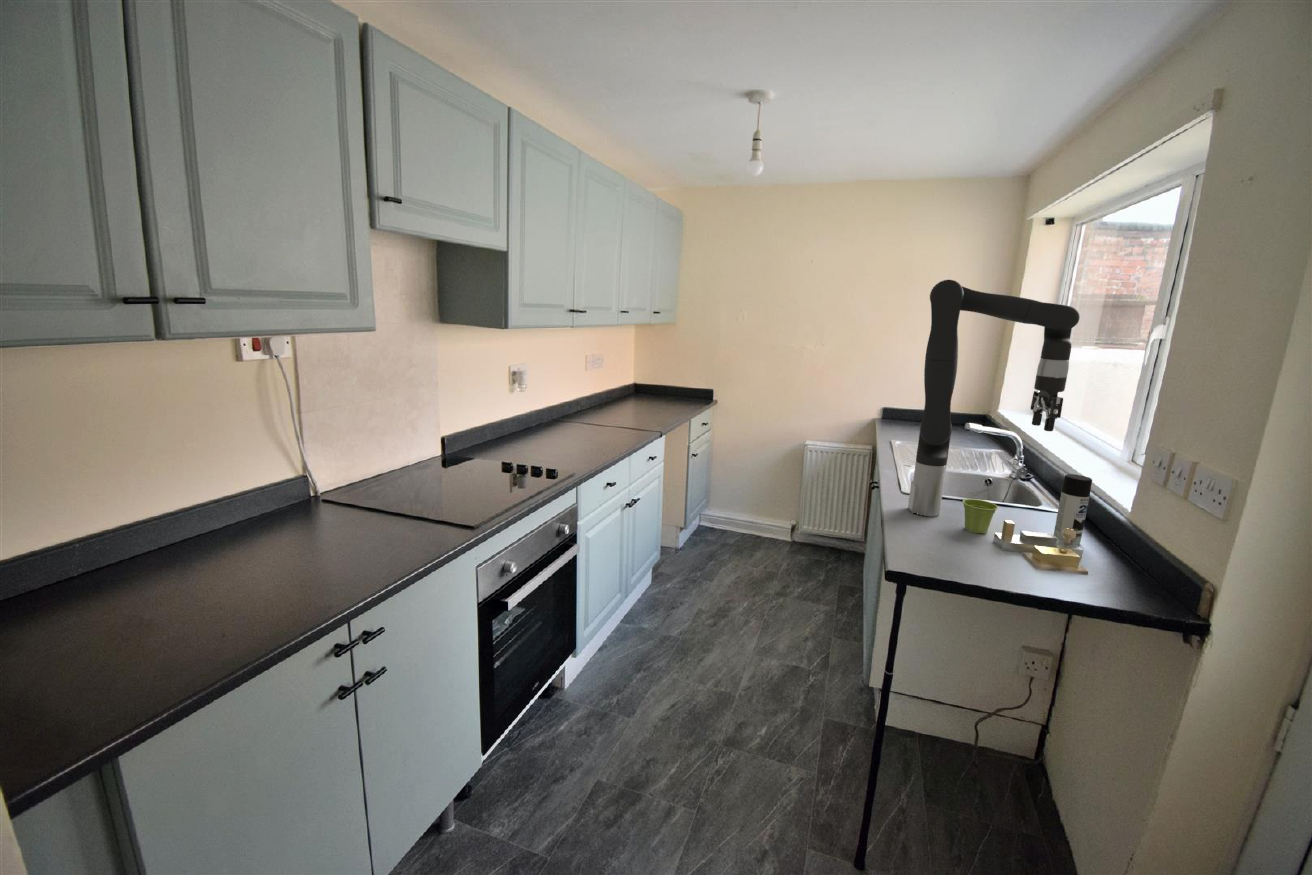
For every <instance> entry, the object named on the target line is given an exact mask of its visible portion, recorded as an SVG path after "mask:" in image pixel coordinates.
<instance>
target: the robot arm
mask: <svg viewBox="0 0 1312 875" xmlns="http://www.w3.org/2000/svg"><path fill="white" fill-rule="evenodd" d="M929 301H930V302H929V303H930V310H931V312H930V314H931V316H930V317H931V319H930V320H931V324H930V333H929V335H928V336H929V337H928V340H927V345H926V350H925V358H924V359H925V360H924V370H923V371H924V372H923V373H924V375H923V376H924V379H923V380H924V382H923V384H924V399H925V400H924V409H923V415H922V418H921V419H922V421H921V424H920V427H919V436H918V443H917V450H916V456H915V465H914V473H913V478H912V479H913V480H912V481H911V482H910V488H909V495H908V496H909V497H908V503H907V504H908V505H907V509H908V510H909V509H910V510H909V512H910V511H911V512H910V513H911V514H913V513H918V514H920V516H922V515H924V516H923V517H938V516H939V515H940V512H941V506H942V505H941V504H942V500H943V492H944V486H945V478H946V472H947V465H948V459H949V449H950V442H951V436H952V430H953V428H952V427H953V426H952V422H951V420H952V419H951V414H952V413H951V408H952V407H951V406H952V398H953V394H954V389H955V385H956V378H957V372H958V362H959V361H958V360H959V335H958V334H959V332H958V331H959V330H958V326H959V318H960V313H961V311H963V312H971V313H977V314H982V315H986V316H990V317H993V318H997V319H1002V320H1006V321H1010V322H1015V323H1020V324H1025V325H1036V326H1040V327H1043V328H1044V329H1043V343H1042V347H1041V348H1042V349H1041V354H1040V358H1039V363H1038V366H1037V368H1036V369H1037V371H1036V375H1035V376H1036V377H1035V381H1034V387H1033V388H1034V391H1033V394H1032V399H1031V404H1030V410H1031V411H1032V414H1033V415H1032V421H1031V425H1033V426H1036V427H1039V426H1041V423H1042V419H1043V413H1045V422H1044V426H1043V427H1044V428H1043V430H1044V431H1045V432H1053V431H1054V427H1055V423H1056V419H1059V418H1061V416H1062V409H1063V404H1064V397H1060V396H1058V394H1059V393H1063V392H1065V390H1066V384H1067V379H1068V374H1069V369H1070V368H1069V366H1070V365H1069V364H1070V358H1071V352H1072V341H1071V337H1072V336H1071V335H1072V330H1073V328H1074V327H1076V326H1077V325H1078V323H1079V321H1080V313H1079V311H1078V310H1077V309H1076V308H1075V307H1073V306H1071V305H1065V304H1059V303H1051V302H1042V301H1039V300H1035V299H1031V298H1026V297H1020V296H1014V295H1008V294H996V293H991V292H990V293H989V292H983V291H978V290H973V289H970V288H967V287H965V286H963V285H961V284H960V283H959V282H958V281H956V280H953V279H944V280H941V281H939V282H937V283H936V284H935V285H934V286H933V287H932V288H931V291H930V293H929ZM918 514H917V515H918Z"/></svg>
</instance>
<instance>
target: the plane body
mask: <svg viewBox="0 0 1312 875" xmlns="http://www.w3.org/2000/svg"><path fill="white" fill-rule="evenodd" d="M1015 526H1016V523H1015V522H1014V521H1013V520H1012V519H1011V520H1010V519H1009V520H1008V519H1004V520H1003V526H1002V530H1001V532H994V535H993V540H992V541H993V542H994V543H995V544H996V545H997V546H998V547H999V549H1001V551H1005V552H1006V551H1008V552H1017V553H1019V552H1020V553H1023V552H1026V553H1033V549H1034V546H1042V547H1052V548H1062V549H1071V550H1072V551H1074V552H1075V553H1076V554H1077V555H1078V556H1080V559H1083V553H1084V549H1083V548H1082V547H1080V546H1079V545H1077V544H1075V543H1074V542H1073V541H1072V540H1071V539H1073V538H1075V537H1076V532H1075V530H1074V529H1072V528H1065V529H1064V530H1063V531H1062V535H1063V537H1064V538H1065V539H1057V538H1056V537H1055V536H1054V533H1049V532H1039V531H1029V530H1028V531H1027V530H1020V533H1019V534H1014V530H1015Z"/></svg>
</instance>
